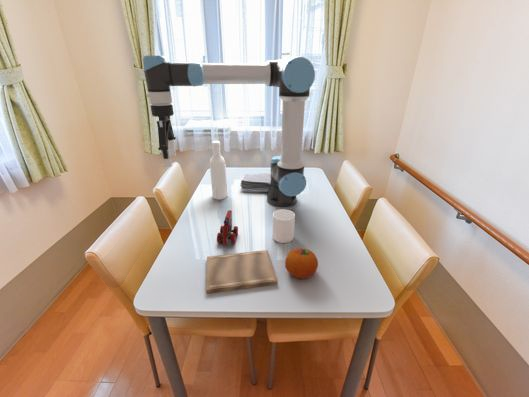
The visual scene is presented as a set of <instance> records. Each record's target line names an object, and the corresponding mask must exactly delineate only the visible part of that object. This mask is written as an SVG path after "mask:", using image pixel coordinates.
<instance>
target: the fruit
mask: <svg viewBox="0 0 529 397" xmlns="http://www.w3.org/2000/svg"><path fill="white" fill-rule="evenodd" d="M284 265H285V266H284V267H285V269H286V271H287V272H288V274H289V275H291V276H292V277H295V278H297V279H303V280H304V279H308V278H310V277H312V276H314V275H315V274H316V272H317V269H318V265H319V261H318V258H317V256H316V254H315V253H314V252H313V251H311V250H310V249H307V248H302V247H301V248H294V249H292V250H290V251H289V252H288V254H287V255H286V257H285V262H284Z"/></svg>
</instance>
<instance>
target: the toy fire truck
mask: <svg viewBox="0 0 529 397" xmlns="http://www.w3.org/2000/svg"><path fill="white" fill-rule="evenodd" d="M219 228H220V229H219V232H217V235H216V243H218V244H223V245H226V246H227V245H228V244H229V240H230V243H231V244H232V245H233V244H236V240H237V239H236V237H237V236H238V235H239V227H238V226H237V225H235V226H233V211H232V210H231V209H229V210H227V212H226V215H225V217H224V220H223V225H220V227H219Z"/></svg>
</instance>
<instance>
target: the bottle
mask: <svg viewBox="0 0 529 397" xmlns="http://www.w3.org/2000/svg"><path fill="white" fill-rule="evenodd" d="M211 146H212V156H211V157H210V160H209V167H210V168H209V170H210V180H211V181H210V182H211V192H212V195H211V196H212V198H213V199H215V200H224V199H226V198H228V194H229V193H228V183H227V182H228V180H227V166H226V161H225V158H224V157H223V156H222V155H221V153H222V152H221V142H220V140H213V141H212V142H211Z"/></svg>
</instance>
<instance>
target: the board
mask: <svg viewBox="0 0 529 397" xmlns="http://www.w3.org/2000/svg"><path fill="white" fill-rule="evenodd" d="M205 281H206V283H205V287H206V288H205V292H206V294H214V293H220V292H228V291H238V290H243V289H244V290H245V289H250V288H251V289H252V288H260V287H268V286H275V285H278V278H277V275H276V272H275V269H274V265H273V262H272V259H271V256H270V253H269V250H268V249H266V250H264V249H263V250H258V251H257V250H256V251H249V252H248V251H246V252H239V253H228V254H220V255H210V256H206V280H205Z"/></svg>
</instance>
